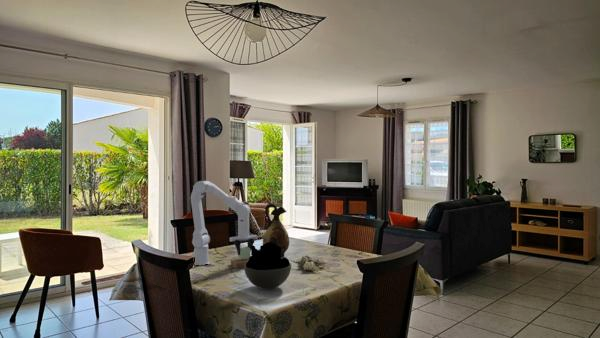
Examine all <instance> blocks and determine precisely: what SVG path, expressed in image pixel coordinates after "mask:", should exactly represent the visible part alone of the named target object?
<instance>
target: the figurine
mask: <svg viewBox="0 0 600 338" xmlns="http://www.w3.org/2000/svg"><path fill="white" fill-rule="evenodd" d="M289 262H292V263H294V264H297V266H298V267H299V268H301V269H303V270H304V271H305V270H306V271H309V272H310V271H311V272H316V271H317V272H319V271H322V268H321V267H325V268H327V269H328V268H329V269H330V266H327V265H326V264H328V265H330V264H331V262H330V261H329V262H327V261H323V260H320V259H319V258H317V259H315V258H313V257H311V256H309V255H308V254H306V255H302V256H301V260H298V261H294V260H291V259H289Z"/></svg>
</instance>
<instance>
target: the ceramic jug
mask: <svg viewBox="0 0 600 338" xmlns="http://www.w3.org/2000/svg"><path fill="white" fill-rule="evenodd" d="M270 208H273V209H272V211H271V212H270V214H269V209H270ZM264 211H265V216H266V219H267V225H266V230H265V232H264V234H263V237H262V245H264V244H265V243H268V242H270V243H271V242H272V243H273V244H275V245H277V246H280V247H281V252H280V253H281V258H284V257H285V253H286V252H288V251H287V250H288V249H289V246H290V236H289V234H288V231H287V229H286V228H285V226H284V224H283V223H282V221H281V219H280V216H281V215H283V214H285V213H287V210H286V209H285V208H284V207H283V206H282V205H281V206H279V207H277V205H276V204H274V203H267V204H266V206H265V208H264ZM270 215H272V216H273V217H272V219H271V216H270Z"/></svg>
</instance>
